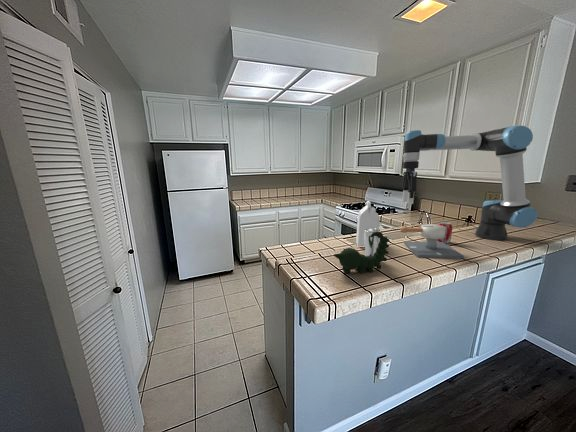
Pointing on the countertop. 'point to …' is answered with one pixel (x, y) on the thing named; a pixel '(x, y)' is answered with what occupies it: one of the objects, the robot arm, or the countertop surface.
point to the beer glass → (370, 241)
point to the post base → (432, 249)
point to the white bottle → (428, 231)
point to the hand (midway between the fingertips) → (407, 202)
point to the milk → (366, 222)
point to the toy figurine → (356, 260)
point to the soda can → (446, 232)
